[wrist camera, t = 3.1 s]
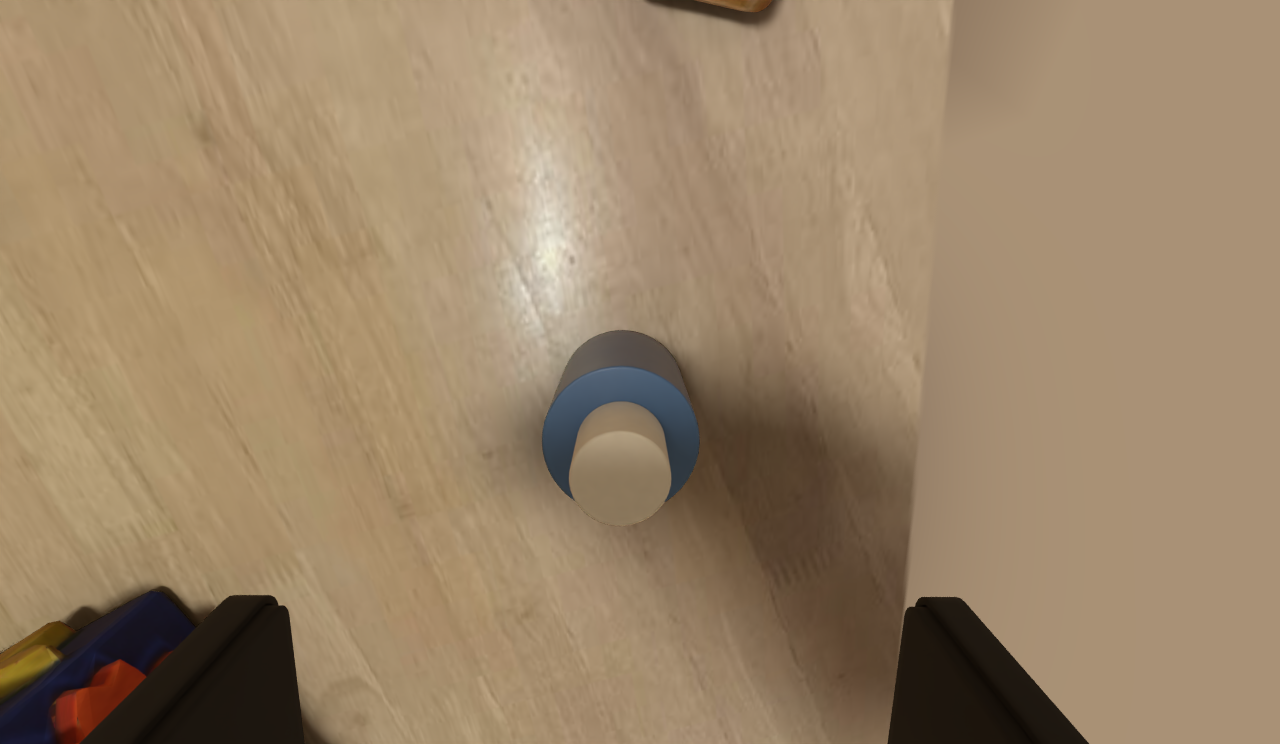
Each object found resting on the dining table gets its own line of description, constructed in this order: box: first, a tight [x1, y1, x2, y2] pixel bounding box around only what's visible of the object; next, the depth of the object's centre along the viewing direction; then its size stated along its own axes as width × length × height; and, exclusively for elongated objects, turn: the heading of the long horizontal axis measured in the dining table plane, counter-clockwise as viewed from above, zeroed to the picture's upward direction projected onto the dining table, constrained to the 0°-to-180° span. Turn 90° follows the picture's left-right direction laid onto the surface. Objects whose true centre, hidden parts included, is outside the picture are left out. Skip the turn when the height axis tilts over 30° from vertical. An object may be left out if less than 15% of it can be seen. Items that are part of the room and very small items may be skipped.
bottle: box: [542, 330, 700, 526], centre depth 23 cm, size 5×5×10 cm
